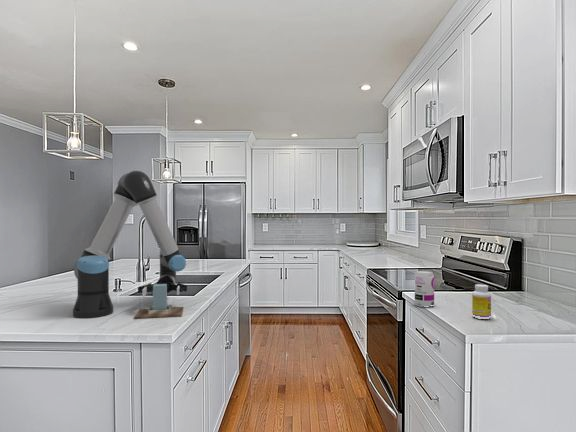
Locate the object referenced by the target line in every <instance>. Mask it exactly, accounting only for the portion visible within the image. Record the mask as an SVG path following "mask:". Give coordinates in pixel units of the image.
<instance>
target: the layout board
mask: <svg viewBox="0 0 576 432" xmlns="http://www.w3.org/2000/svg"><path fill="white" fill-rule="evenodd" d="M183 312H184V306H176V307H173V306H172V305H168V304H167V310H153V305H150V306H149V308H139V309H138V311H137V312H136V314H135V315H134V316H133V317H134V319H133V320H143V319H164V318H179V317H183Z"/></svg>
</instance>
